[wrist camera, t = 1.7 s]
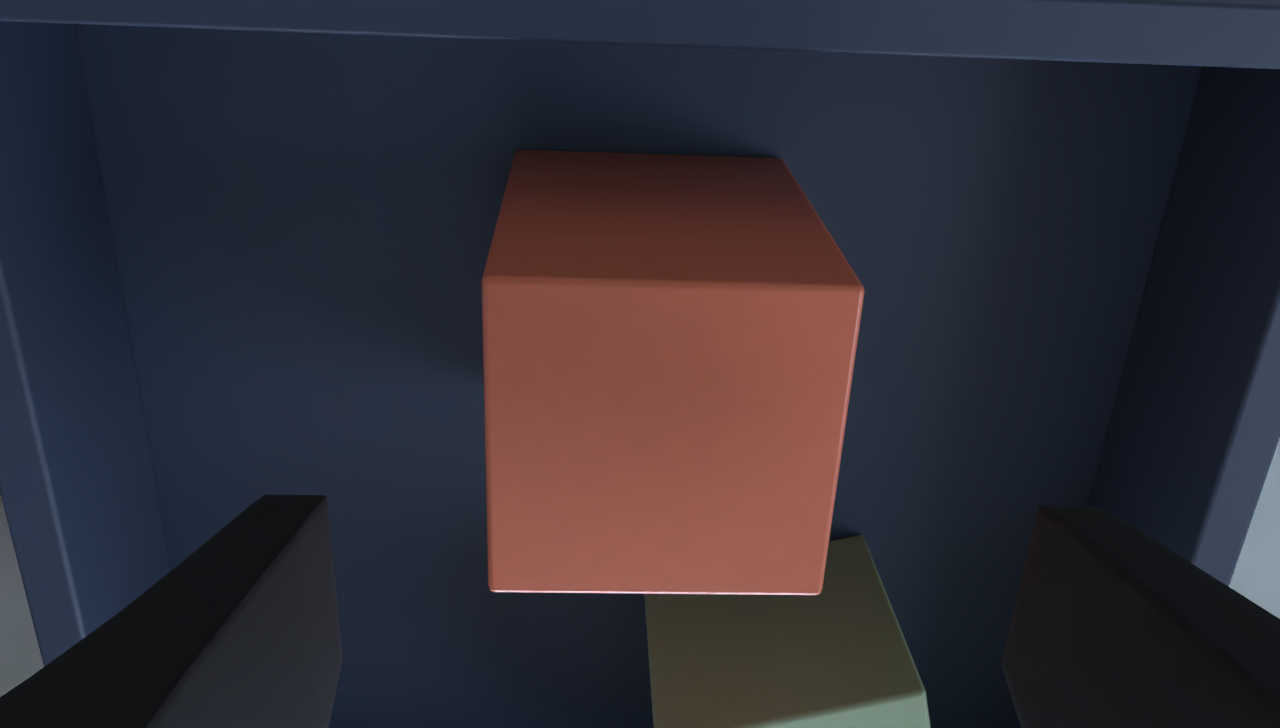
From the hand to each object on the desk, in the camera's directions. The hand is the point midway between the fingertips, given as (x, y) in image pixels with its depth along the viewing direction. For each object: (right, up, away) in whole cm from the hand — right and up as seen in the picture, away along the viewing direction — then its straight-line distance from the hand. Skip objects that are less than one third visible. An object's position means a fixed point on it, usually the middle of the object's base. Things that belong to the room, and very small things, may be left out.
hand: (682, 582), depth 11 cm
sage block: (+2, -4, +11) cm, 12 cm away
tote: (-1, +1, +10) cm, 10 cm away
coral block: (0, +4, +8) cm, 9 cm away
